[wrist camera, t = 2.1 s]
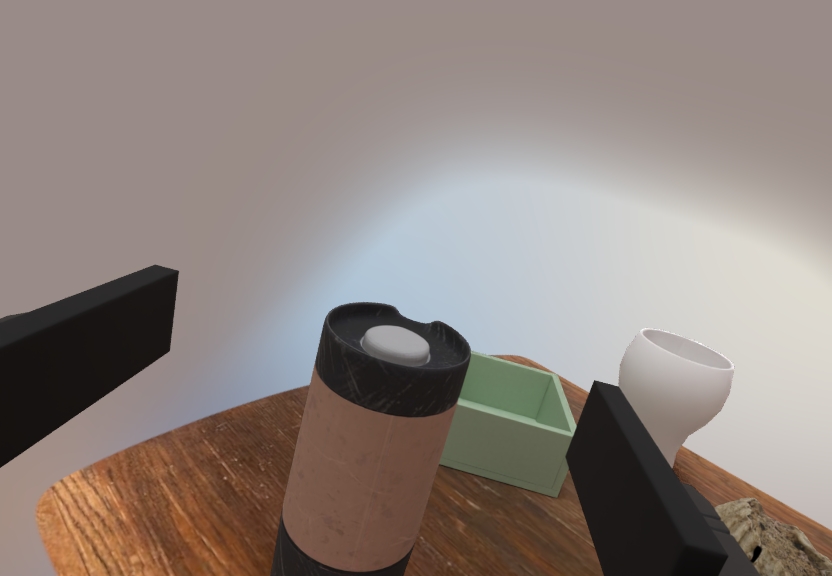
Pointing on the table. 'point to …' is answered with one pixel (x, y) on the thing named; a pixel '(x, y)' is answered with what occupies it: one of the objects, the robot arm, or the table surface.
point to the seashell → (772, 541)
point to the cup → (673, 385)
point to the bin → (511, 426)
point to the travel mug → (369, 442)
